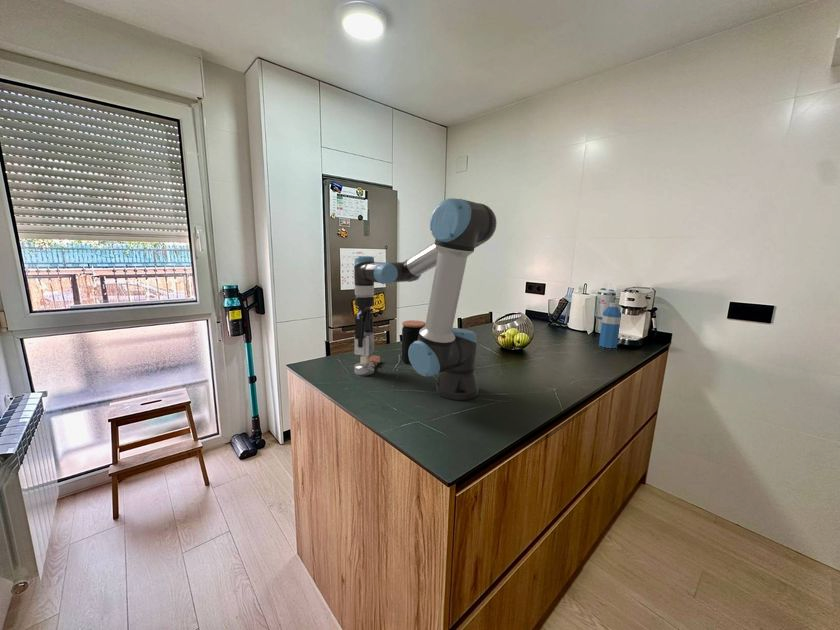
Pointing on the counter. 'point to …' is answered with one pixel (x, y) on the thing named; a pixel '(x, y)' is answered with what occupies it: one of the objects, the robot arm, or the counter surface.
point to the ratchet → (366, 365)
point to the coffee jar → (410, 336)
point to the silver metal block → (366, 343)
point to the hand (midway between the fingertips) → (364, 352)
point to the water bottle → (610, 326)
